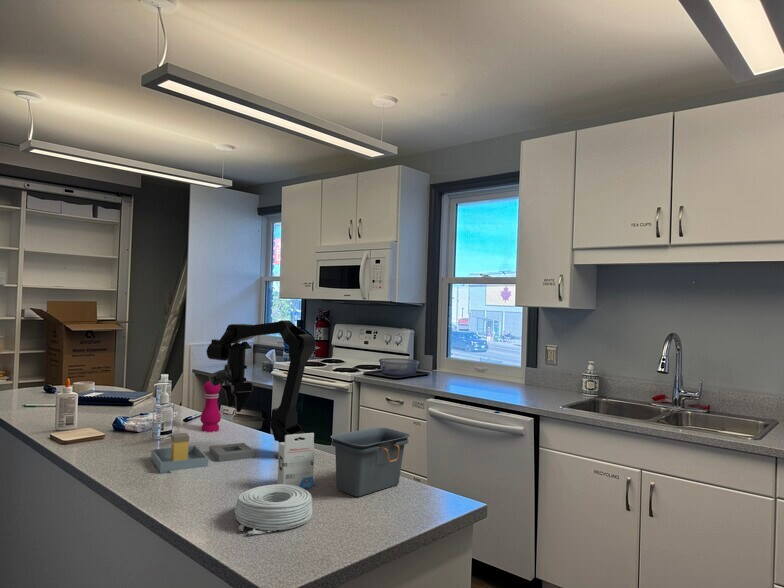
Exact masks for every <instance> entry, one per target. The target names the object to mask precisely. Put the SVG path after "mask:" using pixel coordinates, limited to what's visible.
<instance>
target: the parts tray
mask: <svg viewBox="0 0 784 588" xmlns="http://www.w3.org/2000/svg"><path fill="white" fill-rule="evenodd" d="M150 451H151V452H150V461H151V462H152V463H153V465H154V466H155V469H157V471H158V473H159V474H161V475H162V474H168V473H172V471H182V470H190V469H196V468H206V467H208V466H209V457H208V456H207V455H206V454H205V453H204V452H203V450H201V449H200V448H199V446H197V445H188V459H187V460H178V461H170V459H171V447H163V448H155V449H154V448H153V449H151V450H150Z"/></svg>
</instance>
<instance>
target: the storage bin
mask: <svg viewBox="0 0 784 588" xmlns="http://www.w3.org/2000/svg"><path fill="white" fill-rule="evenodd" d="M329 437H330V438H331V439H332V441H331V443H330V445H331V446H332V447H334V449H335V450H334V451H335V484H336V485H335V486H336V487H335V488H336V489H337V490H338V491H340V492H343V493H346V494H348V495H352V496H354V497H362V496H366V495H368V494H371V493H374V492H378V490H379V491H382V490H386V489H389V488H392V487H391V486H393V487H396V486H398V485H399V483H400V476H401V471H402V470H401V469H402V465H403V457H404V449H405V445H407V444H409V439H408V438H409V437H411V434H409V433H407V432H405V431H399V430H395V429H392V428H388V427H373V428H367V429H362V430H360V429H359V430H354V431H348V432H347V431H346V432H342V433H336V434H332V435H330V436H329ZM395 485H396V486H395ZM388 487H389V488H388ZM385 488H386V489H385ZM381 489H382V490H381Z"/></svg>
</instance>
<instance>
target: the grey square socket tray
mask: <svg viewBox="0 0 784 588" xmlns="http://www.w3.org/2000/svg"><path fill="white" fill-rule="evenodd" d="M208 448H209V449H208V451H209V452H208V453H209V454H210V455H211V456H212V457H213V458H214V459H215V460H216V461H217V462H218V463H222V462H230V461H239V460H240V461H241V460H247V459H255V455H256V453H255V452H256V451H255V450H254V449H253V448H251V447H250V446H249V445H247V444H246V443H244V442H238V443H229V444H227V443H226V444H218V445H210V446H209V447H208Z"/></svg>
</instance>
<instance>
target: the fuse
mask: <svg viewBox="0 0 784 588" xmlns="http://www.w3.org/2000/svg"><path fill="white" fill-rule="evenodd" d="M170 435H171V436H170V440H171V441H170V448H171V459H170V461H178V460H187V459H188V446H189V442H190V435H189V434H188V433H187V432H181V433H180V432H179V433H178V432H177V433H171V434H170Z"/></svg>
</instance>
